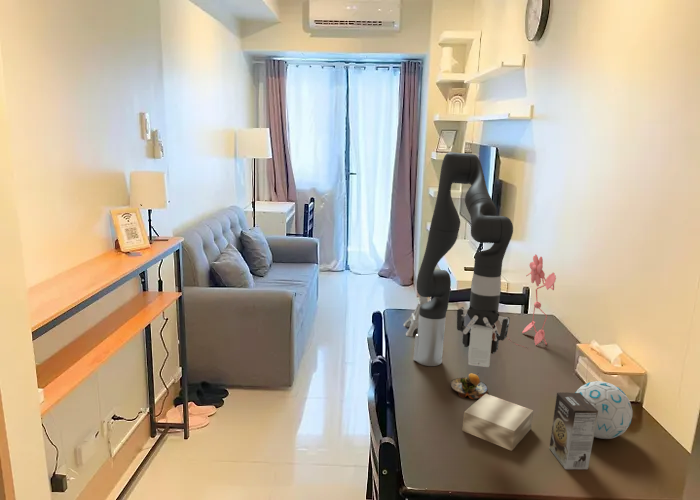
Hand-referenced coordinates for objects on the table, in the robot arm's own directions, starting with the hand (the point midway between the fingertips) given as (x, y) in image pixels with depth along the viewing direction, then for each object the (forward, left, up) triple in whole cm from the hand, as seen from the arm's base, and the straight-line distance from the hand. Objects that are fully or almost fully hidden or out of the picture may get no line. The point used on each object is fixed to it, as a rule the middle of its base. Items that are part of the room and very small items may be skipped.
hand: (479, 349), depth 144 cm
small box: (0, 0, -4) cm, 4 cm away
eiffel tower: (-40, +58, -23) cm, 74 cm away
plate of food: (-7, +19, -23) cm, 30 cm away
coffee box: (+26, -2, -23) cm, 34 cm away
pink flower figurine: (-2, +75, -22) cm, 78 cm away
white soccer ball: (+31, +15, -22) cm, 41 cm away
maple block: (+7, +1, -23) cm, 24 cm away
